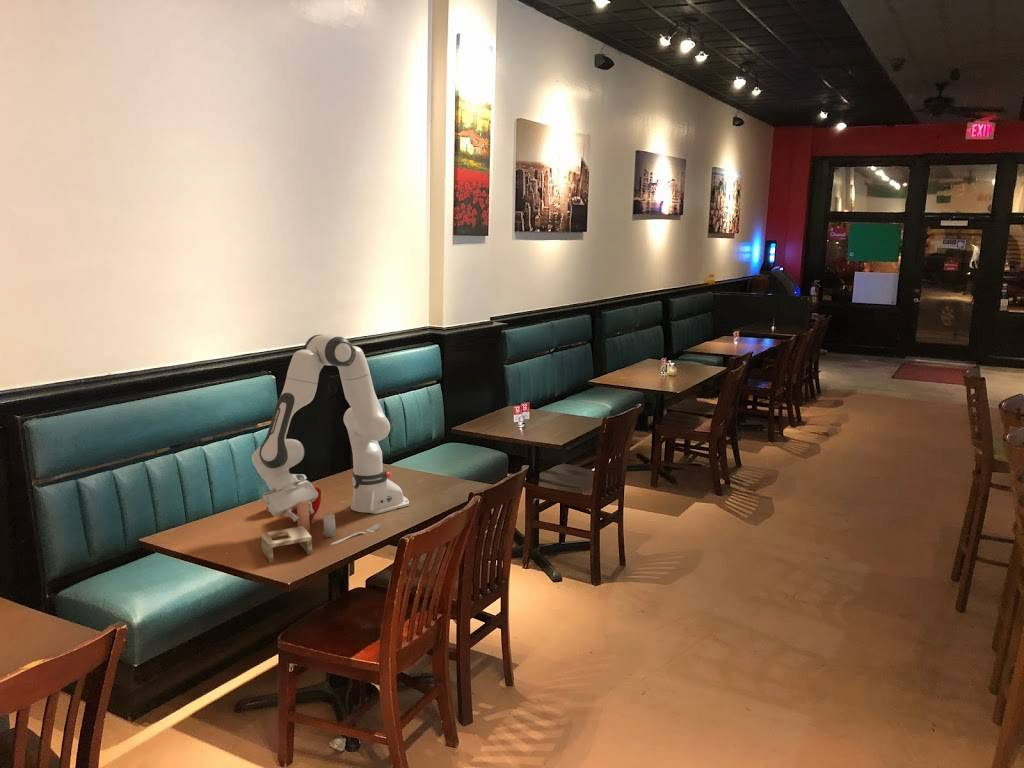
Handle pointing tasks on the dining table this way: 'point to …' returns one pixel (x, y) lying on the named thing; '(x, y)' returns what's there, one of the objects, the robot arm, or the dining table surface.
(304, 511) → the long dowel
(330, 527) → the short dowel
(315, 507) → the ceramic cup
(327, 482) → the dining table surface
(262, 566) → the dining table surface
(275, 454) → the robot arm
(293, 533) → the bridge
